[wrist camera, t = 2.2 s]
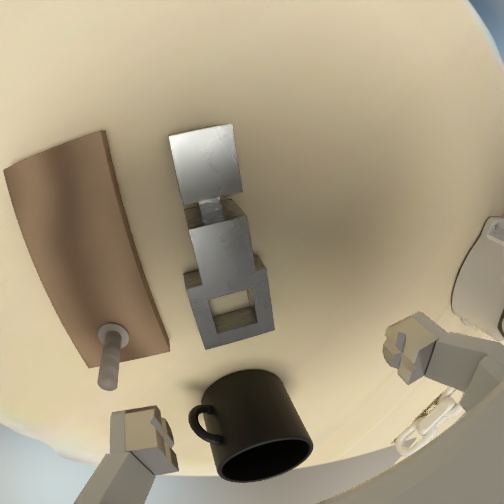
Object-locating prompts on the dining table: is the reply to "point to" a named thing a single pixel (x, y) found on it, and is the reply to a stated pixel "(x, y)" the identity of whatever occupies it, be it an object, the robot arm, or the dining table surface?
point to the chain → (429, 423)
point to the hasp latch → (219, 237)
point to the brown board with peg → (87, 253)
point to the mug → (251, 427)
